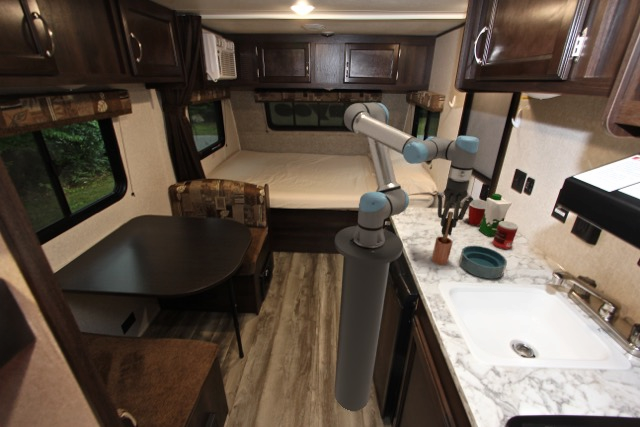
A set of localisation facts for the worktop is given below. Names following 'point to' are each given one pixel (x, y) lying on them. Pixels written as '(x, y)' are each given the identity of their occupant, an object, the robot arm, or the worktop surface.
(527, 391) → the worktop surface
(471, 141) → the robot arm
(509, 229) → the canned food
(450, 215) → the stick
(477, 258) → the bowl
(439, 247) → the crock
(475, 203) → the plastic cup
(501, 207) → the milk carton
